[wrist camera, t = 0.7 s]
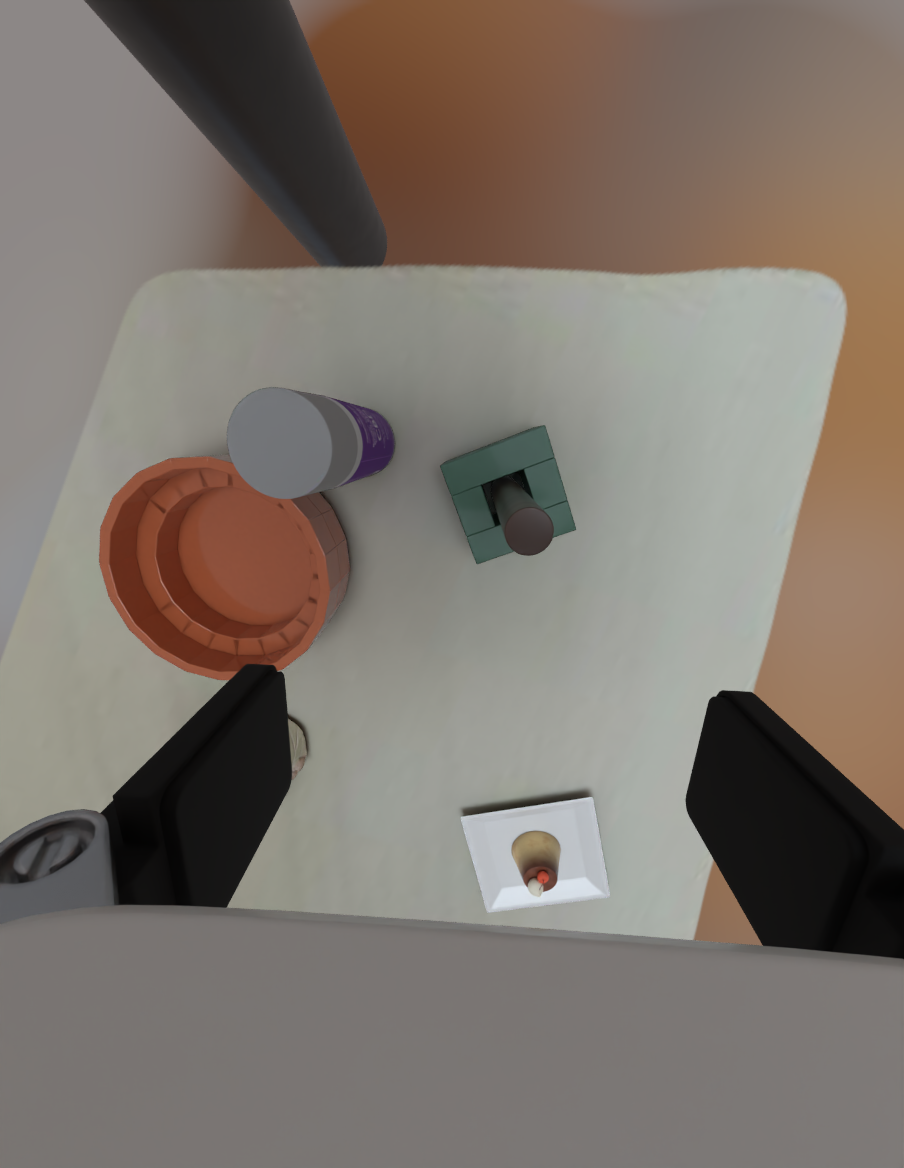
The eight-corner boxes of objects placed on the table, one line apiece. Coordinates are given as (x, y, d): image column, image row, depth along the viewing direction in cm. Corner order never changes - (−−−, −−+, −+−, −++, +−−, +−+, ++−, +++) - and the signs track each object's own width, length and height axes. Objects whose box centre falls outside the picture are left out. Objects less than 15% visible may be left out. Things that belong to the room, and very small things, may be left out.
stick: (486, 481, 34) (497, 517, 18) (512, 471, 33) (545, 500, 18) (495, 507, 34) (513, 562, 19) (521, 498, 34) (560, 546, 19)
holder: (444, 461, 33) (439, 465, 29) (534, 426, 32) (544, 424, 28) (476, 547, 35) (476, 564, 30) (562, 517, 34) (576, 529, 29)
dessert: (589, 787, 41) (604, 831, 37) (607, 886, 45) (622, 937, 40) (460, 807, 43) (458, 851, 38) (486, 902, 46) (488, 953, 42)
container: (407, 433, 33) (356, 429, 19) (373, 488, 34) (301, 523, 20) (352, 393, 32) (255, 358, 18) (319, 450, 34) (204, 459, 19)
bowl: (121, 497, 35) (52, 508, 30) (298, 421, 33) (261, 418, 27) (218, 666, 39) (175, 705, 34) (382, 610, 37) (365, 641, 31)
